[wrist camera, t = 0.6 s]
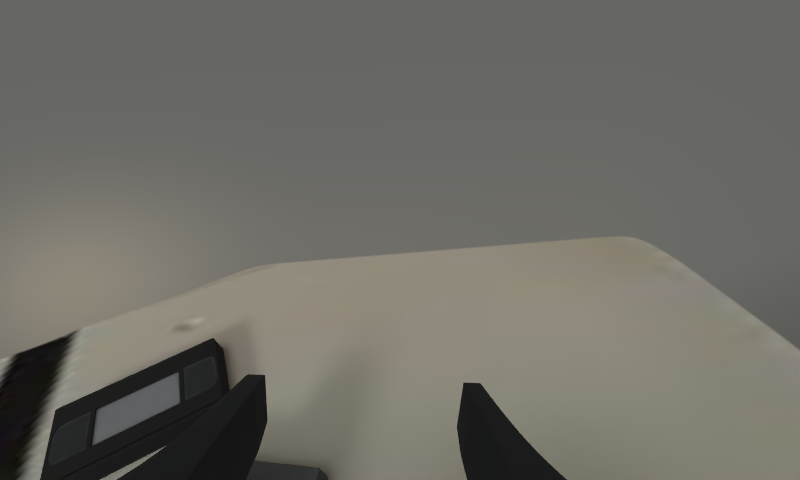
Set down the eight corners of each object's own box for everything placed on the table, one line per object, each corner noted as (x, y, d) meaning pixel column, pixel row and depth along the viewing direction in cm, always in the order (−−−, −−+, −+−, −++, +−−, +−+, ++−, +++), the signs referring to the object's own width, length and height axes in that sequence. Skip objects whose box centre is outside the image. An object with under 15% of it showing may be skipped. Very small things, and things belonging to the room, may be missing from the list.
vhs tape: (71, 418, 35) (55, 409, 33) (223, 347, 38) (214, 337, 37) (56, 502, 30) (36, 495, 28) (233, 411, 33) (223, 402, 32)
